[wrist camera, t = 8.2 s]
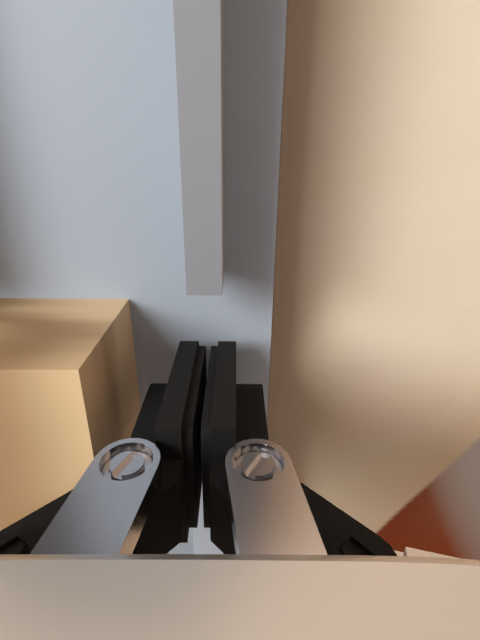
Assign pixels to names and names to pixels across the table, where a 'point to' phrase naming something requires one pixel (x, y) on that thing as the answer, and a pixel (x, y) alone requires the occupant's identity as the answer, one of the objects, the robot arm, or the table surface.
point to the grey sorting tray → (146, 171)
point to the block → (60, 394)
